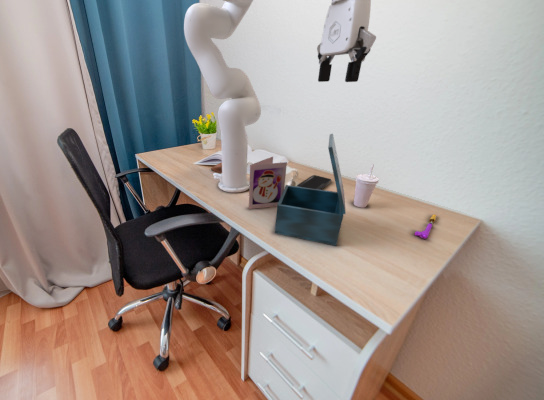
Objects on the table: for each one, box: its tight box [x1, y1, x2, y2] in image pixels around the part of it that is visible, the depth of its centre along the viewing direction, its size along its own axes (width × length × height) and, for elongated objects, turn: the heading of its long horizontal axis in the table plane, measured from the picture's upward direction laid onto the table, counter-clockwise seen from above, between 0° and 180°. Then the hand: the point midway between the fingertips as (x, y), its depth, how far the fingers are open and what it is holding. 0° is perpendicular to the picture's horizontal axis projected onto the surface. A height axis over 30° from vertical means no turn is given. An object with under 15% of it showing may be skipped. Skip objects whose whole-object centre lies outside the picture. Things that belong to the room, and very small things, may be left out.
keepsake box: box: [274, 184, 344, 247], centre depth 67 cm, size 16×14×9 cm
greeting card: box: [248, 156, 288, 210], centre depth 78 cm, size 11×7×15 cm, turn 99°
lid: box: [327, 133, 347, 216], centre depth 59 cm, size 16×14×1 cm
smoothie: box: [353, 163, 380, 208], centre depth 76 cm, size 6×6×14 cm
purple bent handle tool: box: [414, 214, 437, 240], centre depth 67 cm, size 3×1×16 cm
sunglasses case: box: [210, 161, 222, 174], centre depth 113 cm, size 18×7×7 cm, turn 140°
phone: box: [296, 174, 332, 190], centre depth 93 cm, size 8×1×15 cm
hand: (336, 81), depth 60 cm, fingers open, 9 cm apart
